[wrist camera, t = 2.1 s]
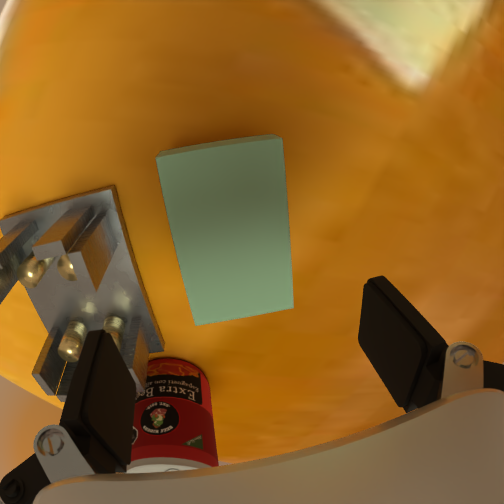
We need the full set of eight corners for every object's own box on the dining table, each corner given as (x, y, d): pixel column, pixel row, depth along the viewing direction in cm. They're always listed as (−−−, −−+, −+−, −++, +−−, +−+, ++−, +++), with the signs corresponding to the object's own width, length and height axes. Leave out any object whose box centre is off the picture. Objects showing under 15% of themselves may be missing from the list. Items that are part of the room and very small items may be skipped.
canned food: (203, 352, 27) (213, 462, 17) (214, 402, 31) (225, 494, 21) (122, 357, 26) (106, 463, 16) (144, 407, 30) (141, 497, 20)
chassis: (4, 216, 18) (-42, 255, 12) (114, 185, 19) (83, 221, 13) (68, 353, 25) (50, 406, 19) (164, 343, 26) (161, 403, 20)
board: (160, 151, 15) (155, 157, 14) (272, 133, 16) (282, 138, 14) (195, 305, 20) (195, 325, 18) (285, 289, 21) (293, 307, 19)
